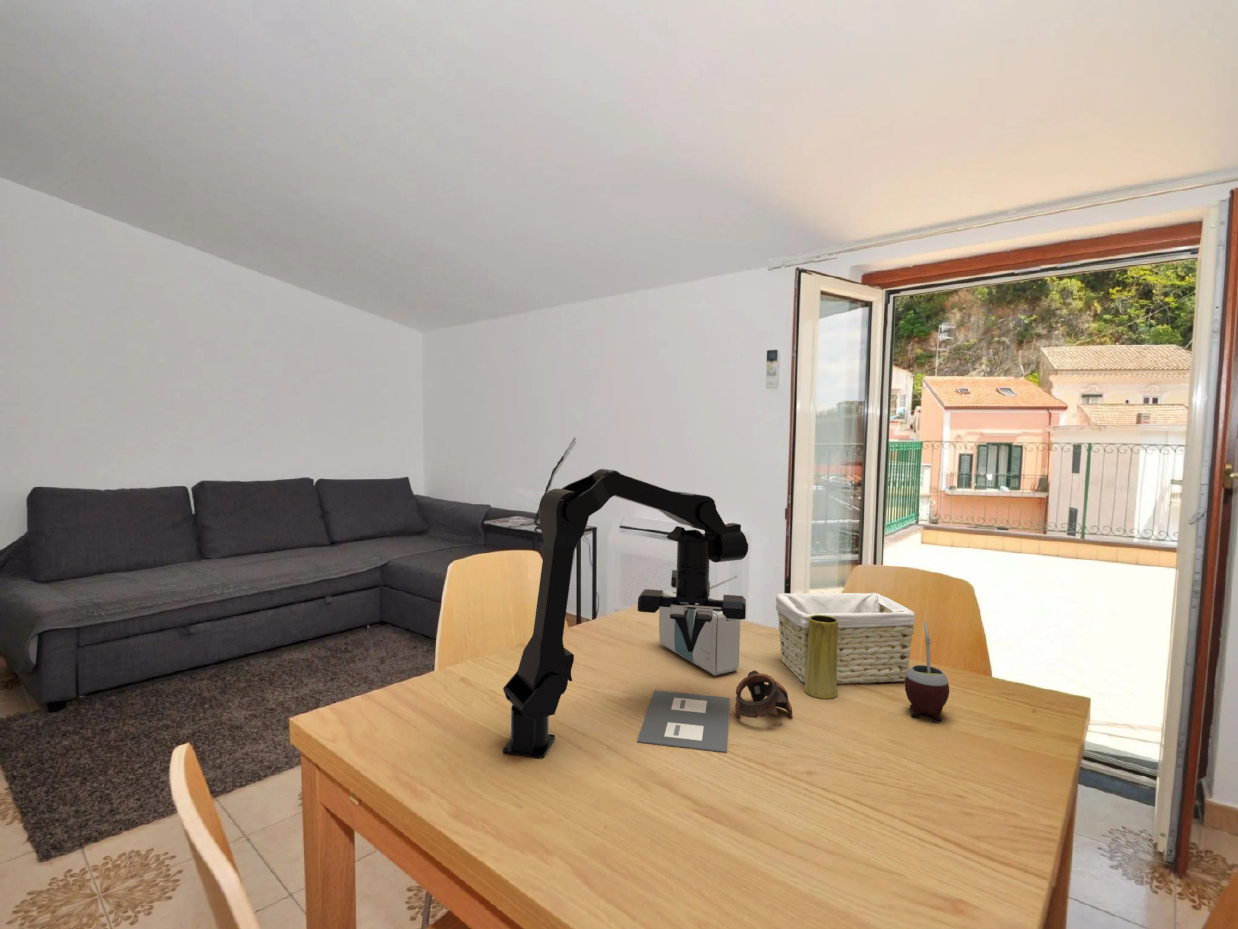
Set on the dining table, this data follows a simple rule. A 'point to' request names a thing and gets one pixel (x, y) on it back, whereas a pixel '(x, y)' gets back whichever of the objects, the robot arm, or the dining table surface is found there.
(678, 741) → the label mat
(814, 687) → the vase
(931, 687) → the mate gourd
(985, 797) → the dining table surface
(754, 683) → the brown curved piece
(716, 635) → the stereo radio cassette player
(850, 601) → the storage basket
